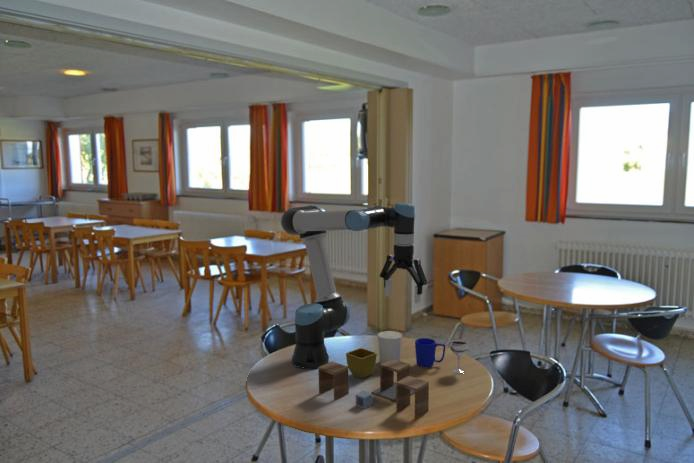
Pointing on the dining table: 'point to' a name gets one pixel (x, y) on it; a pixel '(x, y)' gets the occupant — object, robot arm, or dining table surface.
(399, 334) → the candle holder
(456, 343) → the wineglass
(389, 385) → the cover middle
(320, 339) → the robot arm
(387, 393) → the mat
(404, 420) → the dining table surface
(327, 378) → the cover left
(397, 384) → the cover right
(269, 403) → the dining table surface
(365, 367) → the flower pot
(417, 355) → the mug
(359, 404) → the cube
